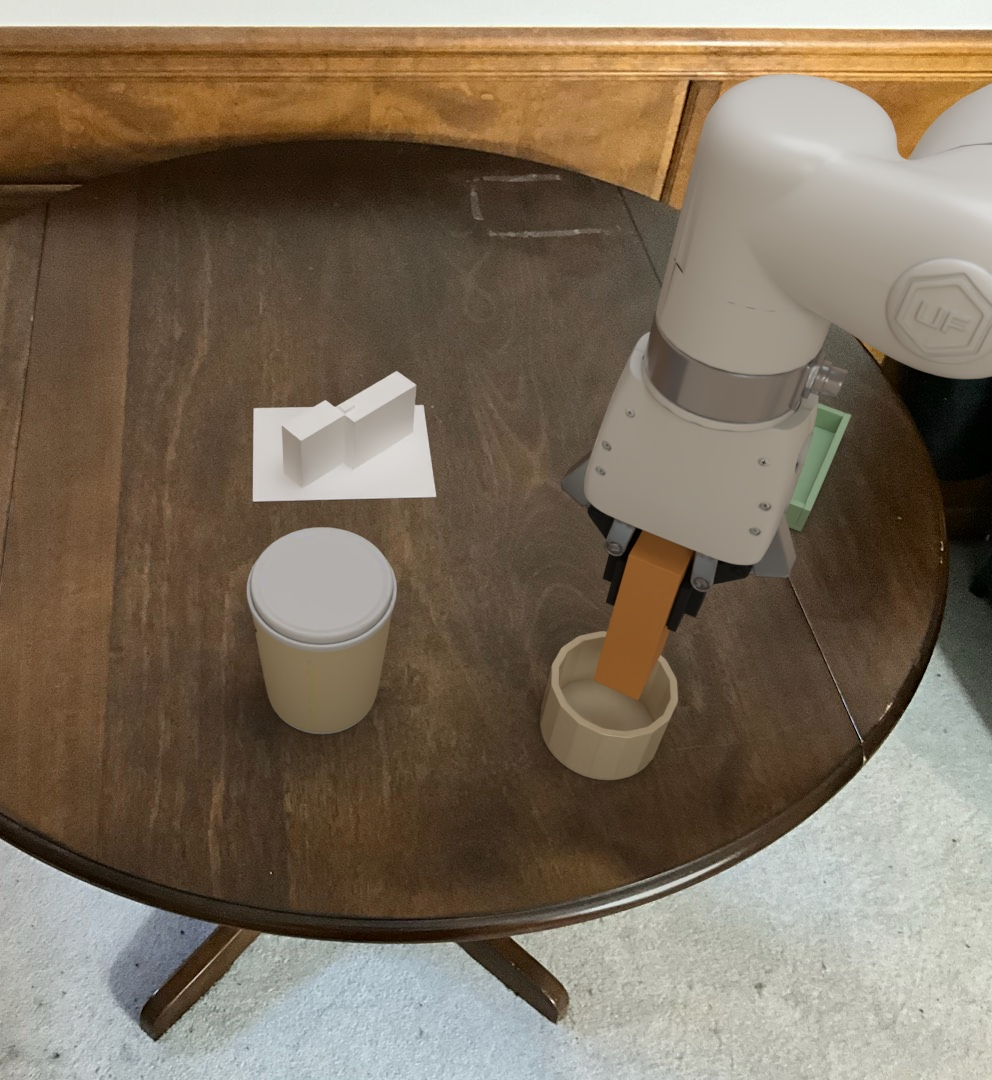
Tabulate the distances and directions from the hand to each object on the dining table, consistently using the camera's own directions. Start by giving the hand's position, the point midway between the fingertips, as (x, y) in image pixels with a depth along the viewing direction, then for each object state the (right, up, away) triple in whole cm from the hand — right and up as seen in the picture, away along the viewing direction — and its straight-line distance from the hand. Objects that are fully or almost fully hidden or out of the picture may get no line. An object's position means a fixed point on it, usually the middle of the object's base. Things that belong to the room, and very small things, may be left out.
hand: (649, 599), depth 66 cm
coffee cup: (-20, -7, +12) cm, 24 cm away
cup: (-1, -9, +11) cm, 14 cm away
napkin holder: (-19, +11, +28) cm, 36 cm away
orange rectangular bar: (0, -4, +5) cm, 7 cm away
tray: (+14, +12, +30) cm, 35 cm away
